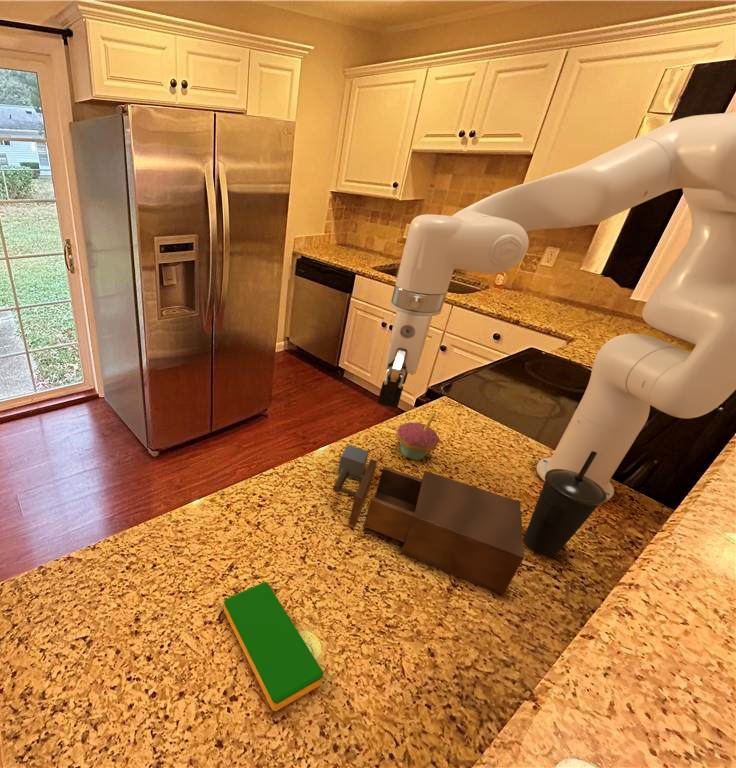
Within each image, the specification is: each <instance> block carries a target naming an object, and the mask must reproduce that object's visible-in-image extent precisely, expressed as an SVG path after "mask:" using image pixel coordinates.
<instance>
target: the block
mask: <svg viewBox="0 0 736 768" xmlns="http://www.w3.org/2000/svg"><path fill="white" fill-rule="evenodd" d="M369 454H370V451H369V450H366V449H362V448H360V447H357V446H353V445H350V444H347V445H346V446H345V448H344V450H343V452H342V454H341V455H340V460H339V465H338V471H337V473H338V474H340V472H341V470H342V468H344V467H346V468H348V469H349V471H350V472H353V473H356V474H359V475H361V476H363V475H364V473H365V470H366V465H367V461H368V458H369ZM347 478H351V479H354V480H356V481H360V482H361V480H360V479H357V478H354V477H352V476H349V475H348V476H347Z"/></svg>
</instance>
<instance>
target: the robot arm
mask: <svg viewBox="0 0 736 768" xmlns="http://www.w3.org/2000/svg"><path fill="white" fill-rule="evenodd" d="M678 189H682V194H683V197H684V200H685V202H686V204H687V206H688V209H689V213H690V217H691V230H690V234H689V237H688V239H687V241H686V243H685V245H684V246H683V248H682V250H681V251H680V253H679V255H678V256H677V257H676V259H675V260H674V261H673V263H672V265H671V266H670V267H669V269H668V270H667V272H666V273H665V275H664V276H663V278H662V279H661V280H660V282H659V283H658V284H657V286H656V288H655V289H654V290H653V292H651V294H650V296H649V298H648V299H647V301H646V302H645V304H644V306H643V308H642V312H641V316H642V319H643V320H644V322H645V323H646V324H648V325H649V326H650V327H652V328H654V329H656V330H658V331H660V332H663V333H665V334H667V335H671V336H673V337H676V338H678V339H680V340H683V341H685V342H688V343H691V344H693V345H695V346H694V348H693V349H692V351H688V350H687V349H684V348H682V347H680V346H677V345H675V344H672V343H670V342H667V341H665V340H662V339H660V338H658V337H654V336H651V335H647V334H643V333H624V334H620V335H617V336H614V337H612V338H610V339H609V340H608V341H606V342H605V343H604V344H603V345H602V346H600V348H599V349H598V351H597V353H596V355H595V357H594V360H593V364H592V368H591V372H590V377H589V381H588V384H587V386H586V389H585V391H584V394H583V396H582V398H581V399H580V401H579V403H578V406H577V408H576V409H575V410H574V413H573V415H572V417H571V419H570V421H569V422H568V425H567V427H566V428H565V430H564V432H563V434H562V435H561V438H560V440H559V442H558V444H557V446H556V448H555V450H554V451H553V454H552V455H551V457H544V458H542V459H540V460H539V461H538V463H537V465H536V473H537V475H538V476H539V477H540V478H541V480H542V481H543V482H545V474H546V473H547V472H548V471H549V470H552V469H564V470H569V471H573V472H576V473H579V472H580V470H581V469H582V467H583V465H584V463H585V462H586V460H587V458H588V457H589V455H590V453H591V451H594V452H596V453H597V455H596V456H595V458H594V460H593V462H592V463H591V465H590V467H589V468H588V470H587V472H586V474H585V475H584V476H585V477H587V478H589V479H591V480H593V481H594V482H596V483H597V484H598V485H599V486H600V487H602V489H603V490H604V491H605V493H606V496H607V499H606V501H605V502H608V501H610V500H611V499H612V498H613V496H614V494H615V489H614V486H613V485H612V483H611V482H610V480H612V478H613V476H614V474H615V472H616V471H617V469H618V468H619V466H620V464H621V463H622V461H623V460H624V458H625V457H626V455H627V453H628V452H629V450H630V449H631V447H632V445H633V444H634V442H635V441H636V439H637V438H638V436H639V434H640V433H641V431H642V430H643V428H644V427H645V425H646V423H647V421H648V419H649V416H650V411H651V407H653V408H655V409H657V410H658V411H660V412H662V413H664V414H666V415H669V416H671V417H674V418H679V419H695V418H699V417H702V416H704V415H706V414H708V413H710V412H712V411H714V410H715V409H717V408H719V406H720V405H722V404H723V403H724V402H725V401H726V400H727V399H728V398H730V396H731V395H732V394H733V393H734V392H735V391H736V111H735V112H723V113H709V114H699V115H691V116H685V117H682V118H678V119H676V120H672V121H669V122H667V123H665V124H663V125H661V126H659V127H656V128H653V129H652V130H650V131H648V132H646V133H644V134H642V135H639V136H637V137H635V138H633V139H631V140H630V141H627V142H625V143H623V144H621V145H619V146H616V147H615V148H613V149H611V150H608V151H606V152H604V153H602V154H601V155H598V156H596V157H594V158H591V159H590V160H588V161H585V162H583V163H581V164H579V165H577V166H574V167H571V168H568V169H565V170H562V171H557V172H555V173H552V174H548V175H545V176H543V177H540V178H537V179H533V180H531V181H528V182H525V183H522V184H518V185H515V186H512V187H508V188H506V189H503V190H500V191H498V192H496V193H493V194H492V195H489V196H486V197H485V198H482V199H480V200H478V201H477V202H474V203H472V204H470V205H469V206H467V207H465V208H462V209H460V210H459V211H457V212H456V213H454V214H453V215H446V214H433V213H431V214H430V213H429V214H428V213H427V214H420V215H417V216H415V217H414V218H413V219H412V220H411V222H410V225H409V228H408V231H407V236H406V240H405V244H404V248H403V251H402V256H401V260H400V264H399V268H398V272H397V276H396V280H395V284H394V289H393V293H392V296H391V299H390V300H391V301H390V304H389V305H390V307H391V308H392V309H394V310H396V312H395V317H394V320H393V324H392V329H391V332H390V336H389V341H388V347H387V352H386V357H385V362H384V367H385V369H386V370H387V371H386V375H385V378H384V381H382V384H381V388H380V392H379V395H378V399H377V403H378V405H382V406H386V407H390V408H393V409H398V407H399V404H400V400H401V396H402V394H403V389H404V386H403V385H405V384H406V381H407V377H408V374H410V376H414V375H415V374H416V373H417V370H418V367H419V363H420V361H421V357H422V355H423V352H424V351H423V350H424V347H425V344H426V341H427V338H428V334H429V330H430V327H431V324H432V319H433V316H438V315H440V314H441V313H442V310H443V307H444V303H445V299H446V297H447V293H448V290H449V286H450V284H451V280H452V277H453V274H454V271H455V270H464V271H468V272H474V273H480V274H484V275H485V274H486V275H490V274H491V275H492V274H499V273H504V272H507V271H509V270H511V269H513V268H514V267H516V266H517V265H518V264H519V263H520V262H521V261H522V260H523V259H524V257H525V256H526V255H527V252H528V250H529V245H530V240H529V236H528V233H527V232H530V231H537V230H551V229H568V228H578V227H584V226H590V225H594V224H598V223H600V222H601V223H602V222H603V221H606V220H608V219H610V218H612V217H614V216H617V215H618V214H621V213H623V212H625V211H627V210H629V209H631V208H634V207H636V206H638V205H640V204H643V203H645V202H648V201H650V200H653V199H654V198H657V197H658V196H661V195H664V194H665V193H668V192H670V191H673V190H678ZM605 502H604V503H605Z"/></svg>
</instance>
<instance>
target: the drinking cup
mask: <svg viewBox="0 0 736 768" xmlns="http://www.w3.org/2000/svg"><path fill="white" fill-rule="evenodd" d="M596 455H597V453H596V452H594V451H591V453H590V455H589V457H588V458H587V460H586V462H585V463H584V465H583V467H582V469H581V470H580V472H579V473H576V472H573V471H569V470H564V469H552V470H549V471H548V472H547V473H546V474H545V481H543V482H544V483H543V484H542V487H541V490H540V494H539V496H538V499H537V502H536V504H535V507H534V510H533V512H532V514H531V516H530V517H531V518H530V520H529V522H528V524H527V525H528V526H527V528H526V530H525V533H524V535H523V542H524V543H525V545H526V546H527V548H529V549H530V550H531V551H533V552H534V553H535V554H537V555H540V556H543V557H545V558H548V557H549V558H554V557H556V556H557V555H558V554H559V553H560V552H561V550H562V549H563V548H564V547H565V546H566V545H567V543H568V542H569V541H570V540H571V539H572V538H573V536H574V535H575V534H576V533H577V531H578V530H579V529H581V527H582V526H583V525H584V524H585V522H586V521H587V520H588V519H589V517H590V516H591V515H593V513H594V512H595V510H597V509H598V507H599V506H601V505H602V504H604V503H605V501H606V499H607V496H606V493H605V491H604V490H603V489H602V487H600V486H599V485H598V484H597V483H596V482H594V481H593V480H591V479H589V478H587V477H585V476H584V475H585V474H586V472H587V470H588V468H589V467H590V465H591V463H592V462H593V460H594V458H595V456H596ZM606 502H607V501H606Z"/></svg>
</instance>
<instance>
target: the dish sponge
mask: <svg viewBox="0 0 736 768" xmlns="http://www.w3.org/2000/svg"><path fill="white" fill-rule="evenodd" d="M223 612H224V613H223V614H224V615H225V617H226V619H227V620H228V623H229V625H230V627H231V629H232V631H233V633H234V635H235V638H236V639H237V642H238V643H239V646H240V648H241V649H242V652H243V654H244V656H245V657H246V660H247V661H248V665H249V666H250V668H251V671H252V672H253V674H254V676H255V679H256V681H257V682H258V684H259V686H260V688H261V691H262V693H263V695H264V697H265V699H266V701H267V703H268V705H269V707H270V709H271V710H272V711H273V712H278V711H279V710H281V709H282V708H284V707H286V706H289V704H291V703H293V702H295V701H296V700H298V699H300V698H301V697H303V696H305V695H307V694H308V693H310V692H312V691H313V690H316V689H317V688H318V687H320V686H321V685H322V681H323V677H324V676H323V675H324V671H323V669H322V668H321V666H320V665H319V663H318V661H317V660H316V658H315V656H314V655H313V654H312V652H311V650H310V648H309V647H308V645H307V644H306V642H305V640H304V639H303V637H302V636H301V634H300V631H298V628H297V627H296V626H295V624H294V622H293V621H292V619H291V618H290V616H289V615H288V613H287V612H286V610H285V608H284V607H283V605H282V603H281V602H280V600H279V598H278V597H277V595H276V594H275V592H274V591H273V589H272V587H271V586H270V584H269V583H268V582H266V581H263V582H261V583H259V584H257V585H254V586H252V587H250V588H247V589H245V590H243V591H241V592H239V593H236V594H234V595H231V596H228V597H227V598H225V599H224V601H223Z"/></svg>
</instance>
